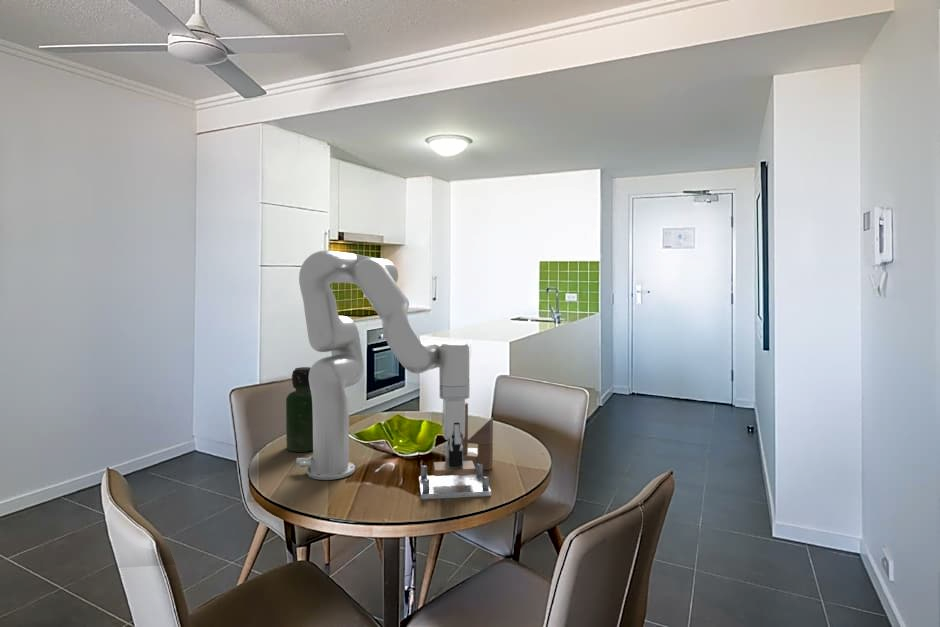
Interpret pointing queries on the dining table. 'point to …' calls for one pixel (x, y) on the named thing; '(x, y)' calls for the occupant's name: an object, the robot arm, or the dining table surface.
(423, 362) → the robot arm
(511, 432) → the dining table surface
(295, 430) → the green bottle
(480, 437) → the wooden block
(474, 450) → the butcher knife
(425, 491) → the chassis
